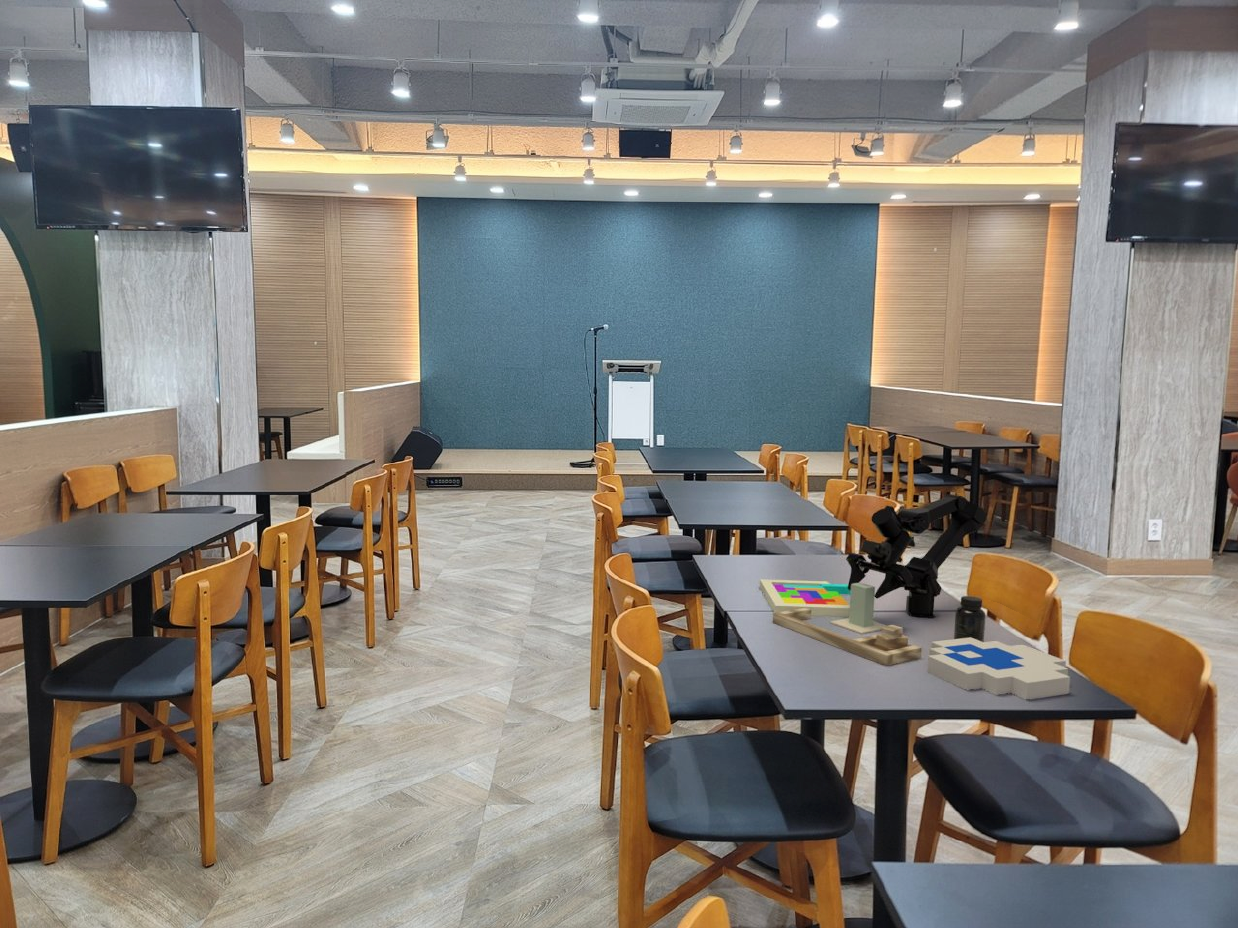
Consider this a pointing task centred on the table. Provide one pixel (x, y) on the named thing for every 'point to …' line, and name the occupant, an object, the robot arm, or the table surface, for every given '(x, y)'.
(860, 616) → the tall green pillar
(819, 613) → the puzzle game
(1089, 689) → the table surface
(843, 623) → the mat
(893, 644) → the offcut oak
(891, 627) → the offcut maple
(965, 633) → the supplement bottle
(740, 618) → the table surface
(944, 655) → the pixel art tile
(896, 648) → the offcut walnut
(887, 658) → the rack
